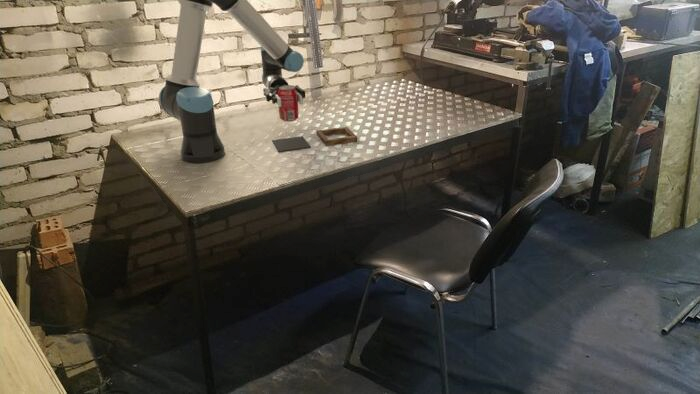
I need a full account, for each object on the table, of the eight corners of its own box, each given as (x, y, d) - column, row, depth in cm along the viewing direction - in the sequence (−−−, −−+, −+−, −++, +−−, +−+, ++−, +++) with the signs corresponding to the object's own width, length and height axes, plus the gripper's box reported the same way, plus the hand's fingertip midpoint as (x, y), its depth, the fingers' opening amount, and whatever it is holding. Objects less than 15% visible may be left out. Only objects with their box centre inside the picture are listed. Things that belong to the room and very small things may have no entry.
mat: (278, 152, 187) (278, 151, 187) (272, 141, 197) (272, 140, 197) (310, 147, 190) (310, 146, 190) (302, 137, 201) (302, 136, 200)
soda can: (290, 115, 194) (288, 83, 189) (302, 119, 189) (301, 87, 184) (275, 119, 189) (273, 87, 184) (287, 123, 185) (285, 90, 180)
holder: (325, 146, 192) (325, 141, 191) (316, 135, 202) (316, 130, 202) (357, 141, 195) (357, 136, 194) (346, 131, 206) (346, 126, 205)
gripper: (303, 93, 206) (318, 109, 186) (253, 98, 200) (263, 115, 180) (302, 74, 202) (317, 88, 183) (251, 78, 197) (261, 94, 177)
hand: (290, 101), depth 182 cm, fingers closed on soda can, 7 cm apart
